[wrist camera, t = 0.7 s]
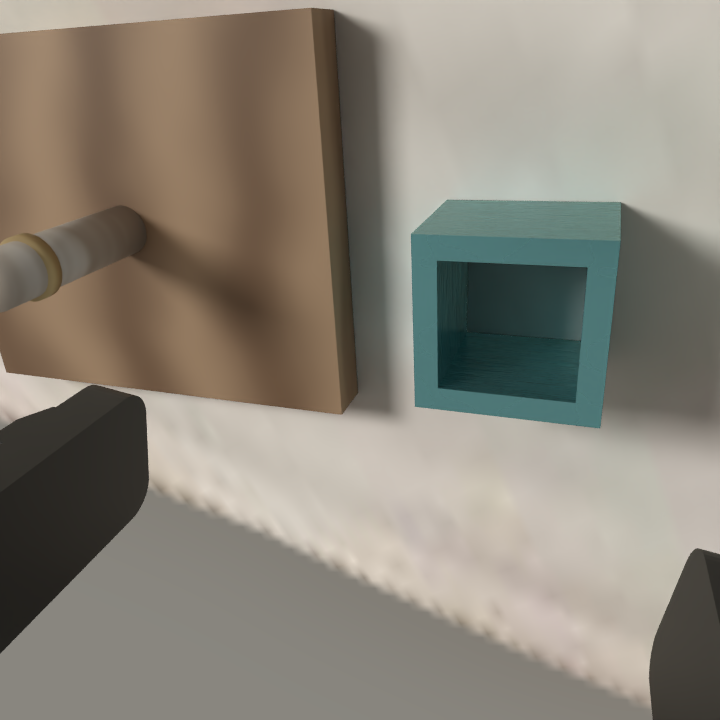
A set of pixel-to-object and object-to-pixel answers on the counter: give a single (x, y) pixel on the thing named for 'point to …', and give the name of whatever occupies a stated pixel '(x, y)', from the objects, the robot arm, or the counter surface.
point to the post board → (178, 209)
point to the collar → (506, 352)
